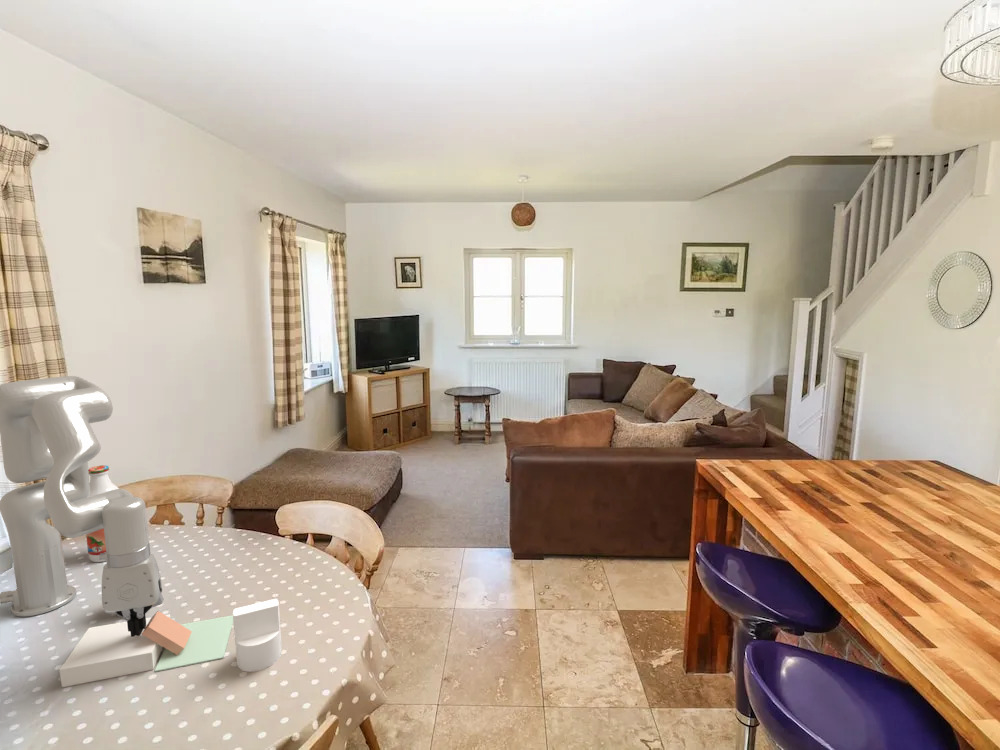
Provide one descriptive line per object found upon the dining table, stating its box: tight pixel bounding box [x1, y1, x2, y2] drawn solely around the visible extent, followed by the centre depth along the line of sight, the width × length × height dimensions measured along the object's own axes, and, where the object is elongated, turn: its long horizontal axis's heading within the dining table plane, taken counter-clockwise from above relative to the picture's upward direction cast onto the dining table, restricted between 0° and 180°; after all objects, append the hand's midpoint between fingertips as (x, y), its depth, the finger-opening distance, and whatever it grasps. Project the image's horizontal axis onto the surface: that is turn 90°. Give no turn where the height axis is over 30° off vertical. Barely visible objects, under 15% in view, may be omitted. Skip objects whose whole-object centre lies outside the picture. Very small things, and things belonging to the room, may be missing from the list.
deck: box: [59, 613, 171, 688], centre depth 113 cm, size 16×14×4 cm
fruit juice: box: [85, 465, 120, 563], centre depth 155 cm, size 9×9×28 cm
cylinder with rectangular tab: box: [232, 598, 283, 673], centre depth 112 cm, size 9×9×12 cm
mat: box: [154, 614, 234, 673], centre depth 118 cm, size 13×16×1 cm
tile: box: [142, 610, 192, 655], centre depth 115 cm, size 9×6×2 cm
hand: (137, 632), depth 113 cm, fingers closed
